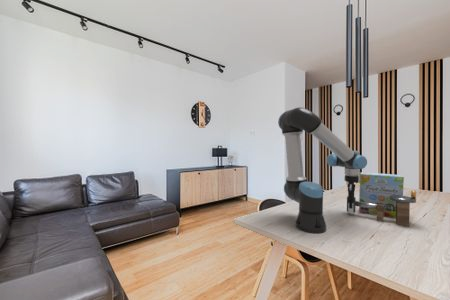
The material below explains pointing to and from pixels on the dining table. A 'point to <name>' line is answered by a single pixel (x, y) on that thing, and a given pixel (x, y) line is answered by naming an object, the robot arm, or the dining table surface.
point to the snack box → (379, 191)
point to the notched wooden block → (401, 213)
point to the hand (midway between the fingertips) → (351, 212)
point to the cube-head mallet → (369, 205)
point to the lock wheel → (405, 198)
